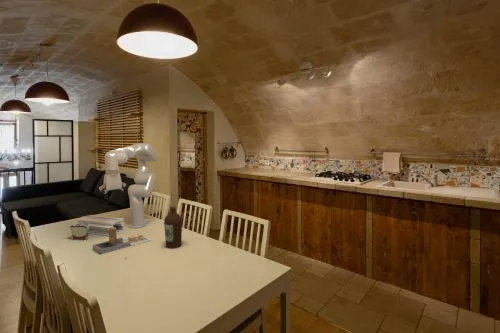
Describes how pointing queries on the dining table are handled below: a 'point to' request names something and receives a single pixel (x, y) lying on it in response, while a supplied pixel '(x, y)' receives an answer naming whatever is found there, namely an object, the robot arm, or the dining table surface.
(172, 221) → the olive oil
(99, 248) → the channel
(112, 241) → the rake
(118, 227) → the aluminum extrusion profile
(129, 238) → the block
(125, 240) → the tray
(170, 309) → the dining table surface
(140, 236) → the block
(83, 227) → the food container
